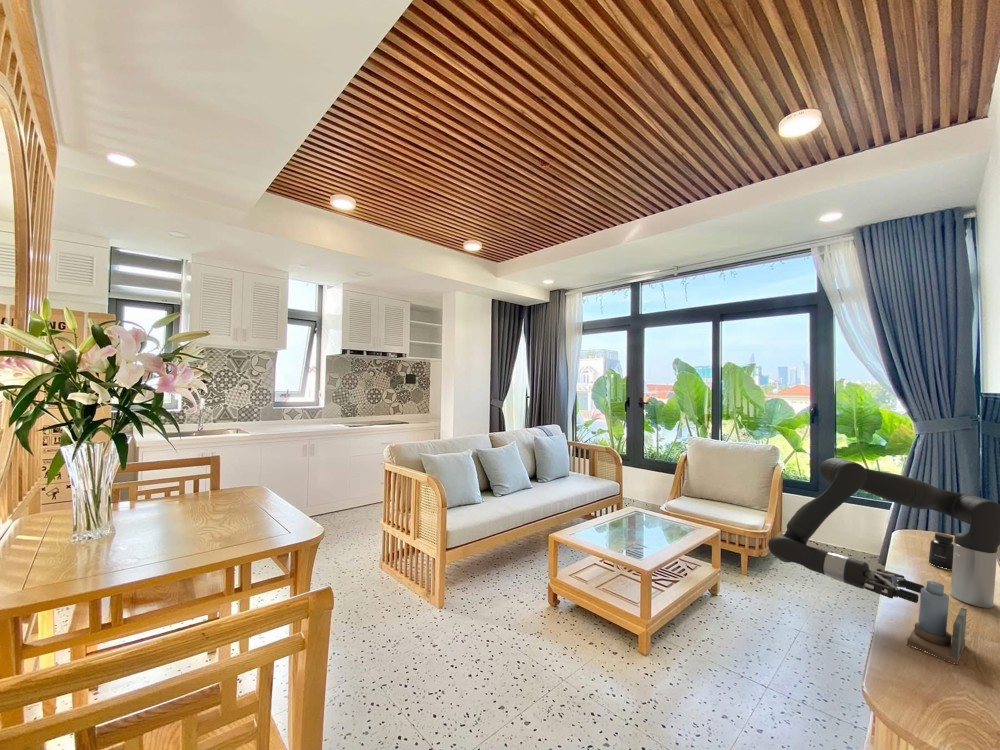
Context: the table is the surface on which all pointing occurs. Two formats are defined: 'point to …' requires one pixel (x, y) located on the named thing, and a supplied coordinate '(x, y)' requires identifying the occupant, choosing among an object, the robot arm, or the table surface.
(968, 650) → the table surface
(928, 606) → the blue grey bottle
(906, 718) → the table surface
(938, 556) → the supplement bottle
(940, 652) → the display stand
